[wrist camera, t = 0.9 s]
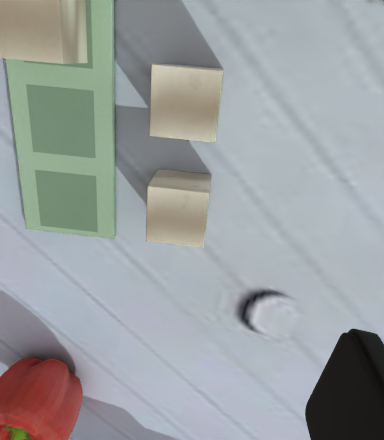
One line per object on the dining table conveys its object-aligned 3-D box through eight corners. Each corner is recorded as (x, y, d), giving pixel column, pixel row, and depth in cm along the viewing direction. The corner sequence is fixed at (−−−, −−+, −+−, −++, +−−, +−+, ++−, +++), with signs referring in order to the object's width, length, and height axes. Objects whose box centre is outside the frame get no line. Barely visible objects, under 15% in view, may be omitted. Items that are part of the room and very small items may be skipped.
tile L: (162, 63, 30) (151, 63, 25) (223, 68, 29) (223, 70, 25) (159, 124, 32) (148, 136, 27) (216, 130, 31) (215, 142, 27)
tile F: (157, 168, 33) (147, 186, 29) (211, 174, 33) (209, 192, 29) (155, 217, 35) (145, 241, 31) (206, 223, 35) (203, 247, 31)
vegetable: (75, 415, 48) (41, 497, 39) (2, 386, 47) (-51, 464, 38) (102, 362, 44) (71, 441, 35) (22, 329, 43) (-32, 402, 34)
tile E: (20, -15, 27) (-20, -29, 23) (85, -9, 27) (57, -23, 23) (27, 57, 29) (-9, 57, 25) (87, 63, 29) (62, 64, 25)
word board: (-1, -30, 28) (-7, -33, 27) (114, -21, 27) (111, -23, 27) (29, 226, 37) (25, 229, 36) (115, 235, 37) (113, 239, 36)
